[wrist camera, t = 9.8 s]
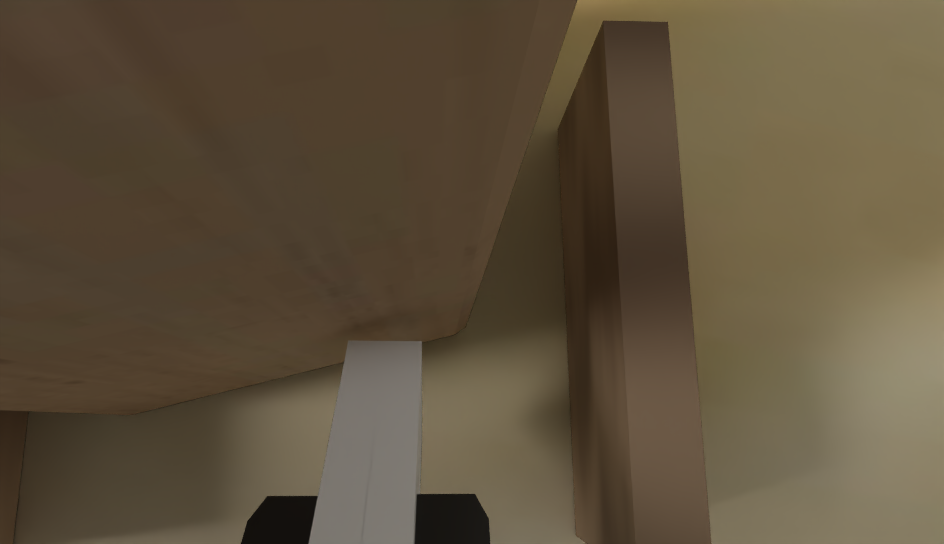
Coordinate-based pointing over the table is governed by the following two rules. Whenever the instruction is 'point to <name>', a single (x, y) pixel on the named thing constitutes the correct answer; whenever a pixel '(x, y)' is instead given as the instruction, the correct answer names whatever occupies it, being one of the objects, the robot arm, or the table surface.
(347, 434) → the robot arm
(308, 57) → the wooden block
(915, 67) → the table surface
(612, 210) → the parallel wooden walls
